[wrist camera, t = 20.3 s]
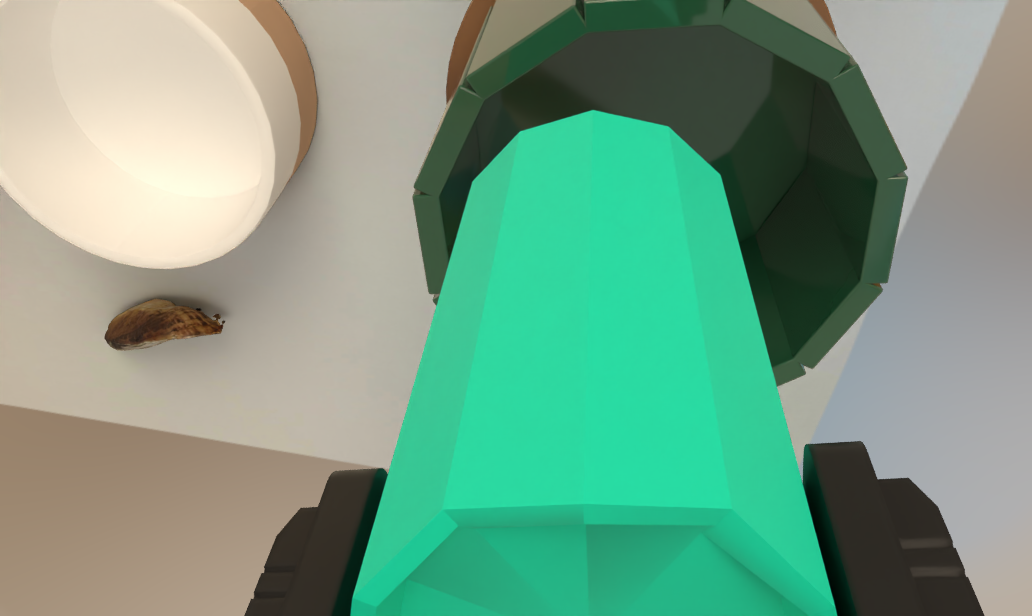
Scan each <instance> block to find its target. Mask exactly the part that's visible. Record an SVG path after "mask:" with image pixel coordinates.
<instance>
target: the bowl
mask: <svg viewBox="0 0 1032 616" xmlns="http://www.w3.org/2000/svg"><path fill="white" fill-rule="evenodd" d="M316 114H317V94H316V86H315V79H314V72H313V69H312V66H311V63H310V60H309V57H308V54H307V51H306V48H305V45H304V43H303V41H302V40H301V38H300V36H299V34H298V32H297V30H296V28H295V26H294V25H293V23H292V21H291V19H290V18H289V16H288V15H287V14H286V12H285V11H284V10H283V9H282V7H281V6H280V5H279V3H278V2H277V1H276V0H0V185H1V186H2V187H3V188H4V190H5V191H6V192H7V193H8V195H9V196H10V197H11V198H12V199H13V200H15V201H16V202H17V203H18V204H19V205H20V206H21V207H22V208H23V209H24V210H25V211H26V212H27V213H28V214H29V215H30V216H31V217H32V218H34V219H35V220H36V221H38V222H39V223H41V224H42V225H43V226H45V227H46V228H47V229H49V230H50V231H52V232H53V233H54V234H56V235H57V236H58V237H60V238H62V239H64V240H66V241H68V242H70V243H71V244H73V245H75V246H77V247H79V248H81V249H83V250H84V251H86V252H89V253H92V254H94V255H97V256H100V257H102V258H105V259H108V260H111V261H113V262H117V263H122V264H127V265H131V266H136V267H141V268H156V269H174V268H182V267H189V266H196V265H199V264H202V263H204V262H207V261H210V260H213V259H216V258H219V257H221V256H223V255H224V254H226V253H228V252H229V251H231V250H232V249H234V248H236V247H237V246H239V245H240V244H242V243H243V242H244V240H245V239H246V238H247V237H248V236H249V235H250V234H251V233H252V232H253V231H254V230H255V229H256V228H257V227H258V226H259V224H260V223H261V221H262V220H263V218H264V217H265V216H266V214H267V213H268V211H269V210H270V208H271V207H272V205H273V204H274V203H275V201H276V200H277V198H278V197H279V195H280V194H281V192H282V191H283V189H284V187H285V186H286V184H287V183H288V181H289V180H290V178H291V177H292V176H293V174H294V173H295V171H296V170H297V168H298V167H299V165H300V163H301V161H302V160H303V158H304V156H305V155H306V153H307V151H308V149H309V147H310V143H311V140H312V137H313V133H314V130H315V126H316Z"/></svg>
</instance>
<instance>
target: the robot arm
mask: <svg viewBox="0 0 1032 616" xmlns="http://www.w3.org/2000/svg"><path fill="white" fill-rule="evenodd" d="M387 476H388V474H387V472H386V471H385V470H384V469H383V468H377V469H360V470H344V471H335V472H333V473H332V474H331V475H330V477H329V479H328V481H327V484H326V486H325V489H324V492H323V495H322V497H321V500H320V503H319V506H318V507H312V508H300V510H299V511H298V512H297V513H296V514H295V515H294V516H293V518H292V519H291V520H290V521H289V522H288V523H287V525H286V526H285V527H284V528H283V529H282V531H281V532H280V533H279V534H278V535H277V536H276V539H275V542H274V544H273V546H272V549H271V552H270V554H269V556H268V559H267V561H266V564H265V566H264V568H265V571H264V573H262V574H261V576H260V578H259V581H258V584H257V586H256V588H255V591H254V599H251V601H250V603H249V606H248V608H247V611H246V613H245V616H350V614H351V605H352V597H353V594H354V590H355V587H356V584H357V580H358V577H359V573H360V570H361V566H362V563H363V559H364V556H365V552H366V549H367V545H368V542H369V538H370V535H371V531H372V528H373V525H374V521H375V518H376V514H377V511H378V507H379V504H380V500H381V497H382V493H383V490H384V486H385V483H386V479H387ZM803 487H804V491H805V495H806V499H807V502H808V506H809V510H810V514H811V517H812V521H813V525H814V529H815V532H816V536H817V540H818V544H819V548H820V551H821V555H822V559H823V563H824V566H825V570H826V574H827V578H828V581H829V585H830V589H831V593H832V596H833V600H834V604H835V608H836V612H837V616H984V614H983V611H982V609H981V607H980V604H979V602H978V599H977V597H976V595H975V592H974V590H973V588H972V585H971V583H970V581H969V579H968V577H966V575H965V569H964V567H963V564H962V562H961V560H960V557H959V555H958V553H957V550H956V548H954V547H953V541H952V539H951V536H950V534H949V532H948V529H947V527H946V525H945V523H944V520H943V518H942V515H941V513H940V511H939V508H938V506H936V504H934V502H932V500H931V499H929V498H928V497H927V496H926V495H925V494H924V493H923V492H922V491H921V490H920V489H919V488H918V487H917V486H916V485H915V484H914V483H913V482H912V481H911V480H910V479H909V478H898V479H879V480H878V479H877V477H876V474H875V471H874V469H873V466H872V463H871V460H870V458H869V455H868V452H867V449H866V447H865V445H864V444H863V442H861V441H857V442H856V441H855V442H838V443H821V444H806V445H805V447H804V458H803Z"/></svg>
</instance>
